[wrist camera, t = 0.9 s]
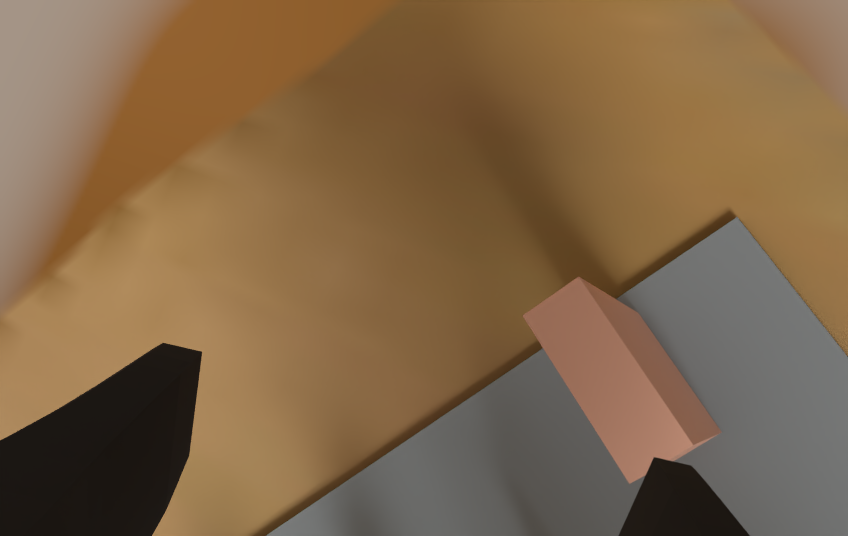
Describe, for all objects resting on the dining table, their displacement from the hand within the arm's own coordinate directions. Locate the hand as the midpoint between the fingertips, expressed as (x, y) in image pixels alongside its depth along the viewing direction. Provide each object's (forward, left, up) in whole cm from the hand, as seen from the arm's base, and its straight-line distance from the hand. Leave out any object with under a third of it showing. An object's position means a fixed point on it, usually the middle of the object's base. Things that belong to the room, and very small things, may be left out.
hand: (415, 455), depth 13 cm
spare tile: (0, -2, -15) cm, 15 cm away
